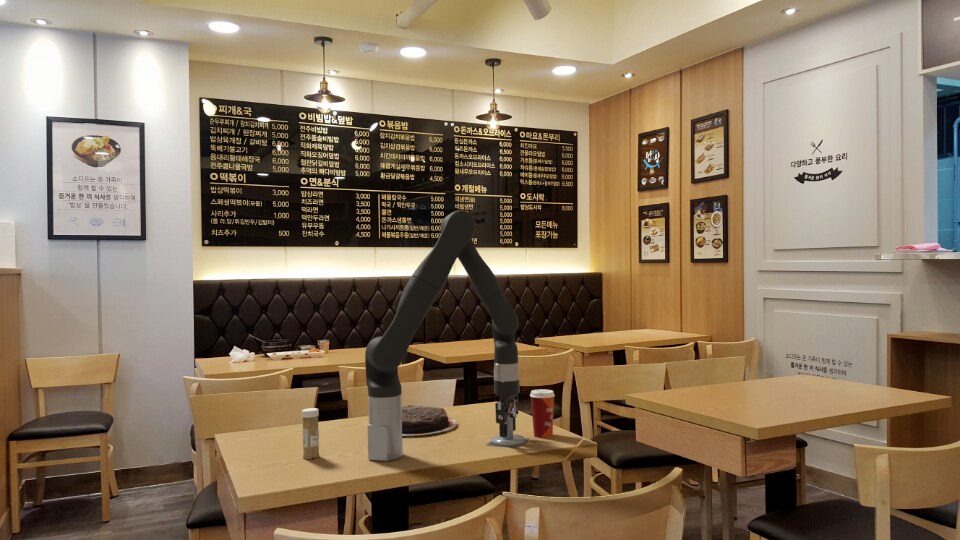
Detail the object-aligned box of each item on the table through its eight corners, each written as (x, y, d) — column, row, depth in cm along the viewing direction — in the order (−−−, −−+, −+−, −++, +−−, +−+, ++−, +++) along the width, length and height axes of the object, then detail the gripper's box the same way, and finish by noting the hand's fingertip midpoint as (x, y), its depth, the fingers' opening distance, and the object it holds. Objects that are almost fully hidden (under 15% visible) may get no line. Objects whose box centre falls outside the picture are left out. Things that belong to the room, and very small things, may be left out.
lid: (518, 447, 182) (518, 423, 182) (486, 444, 186) (485, 420, 186) (529, 438, 191) (528, 415, 191) (497, 436, 195) (497, 413, 195)
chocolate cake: (425, 443, 192) (425, 421, 192) (354, 433, 206) (354, 413, 206) (472, 423, 216) (472, 404, 216) (406, 415, 230) (406, 397, 230)
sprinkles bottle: (319, 458, 176) (318, 410, 176) (302, 460, 175) (301, 411, 175) (319, 454, 181) (318, 407, 181) (303, 455, 180) (302, 408, 180)
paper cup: (554, 440, 190) (553, 393, 190) (529, 439, 192) (528, 393, 192) (556, 433, 198) (555, 389, 198) (532, 433, 199) (531, 388, 199)
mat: (518, 449, 181) (518, 448, 181) (485, 446, 185) (485, 445, 185) (529, 439, 192) (529, 438, 192) (498, 437, 195) (498, 435, 195)
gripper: (502, 373, 196) (503, 427, 196) (486, 381, 183) (487, 438, 183) (525, 374, 194) (527, 428, 194) (510, 382, 180) (512, 440, 180)
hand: (507, 433), depth 188 cm, fingers open, 7 cm apart
